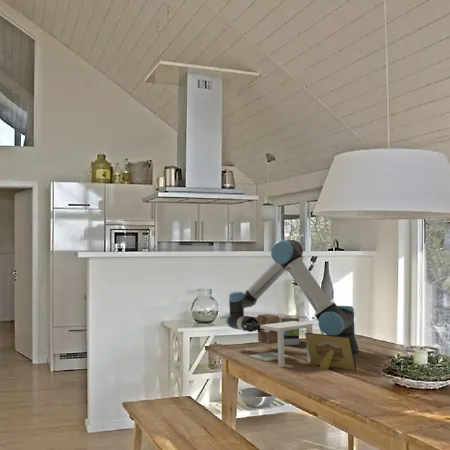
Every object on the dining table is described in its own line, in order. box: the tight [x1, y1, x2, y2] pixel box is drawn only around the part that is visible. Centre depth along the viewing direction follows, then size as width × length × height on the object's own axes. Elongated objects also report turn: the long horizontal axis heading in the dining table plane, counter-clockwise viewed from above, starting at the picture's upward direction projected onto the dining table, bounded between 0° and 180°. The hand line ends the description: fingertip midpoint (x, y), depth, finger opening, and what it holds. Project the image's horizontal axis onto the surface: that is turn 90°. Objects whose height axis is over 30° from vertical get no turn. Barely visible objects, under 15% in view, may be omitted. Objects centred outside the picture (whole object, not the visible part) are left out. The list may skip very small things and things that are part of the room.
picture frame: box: [304, 332, 357, 371], centre depth 271 cm, size 23×9×15 cm, turn 47°
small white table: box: [260, 321, 313, 368], centre depth 288 cm, size 14×20×18 cm
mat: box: [249, 351, 290, 362], centre depth 299 cm, size 14×14×1 cm
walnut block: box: [257, 313, 280, 345], centre depth 300 cm, size 9×6×13 cm, turn 33°
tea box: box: [278, 314, 300, 346], centre depth 339 cm, size 15×10×15 cm, turn 179°
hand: (274, 328), depth 296 cm, fingers closed on walnut block, 6 cm apart
